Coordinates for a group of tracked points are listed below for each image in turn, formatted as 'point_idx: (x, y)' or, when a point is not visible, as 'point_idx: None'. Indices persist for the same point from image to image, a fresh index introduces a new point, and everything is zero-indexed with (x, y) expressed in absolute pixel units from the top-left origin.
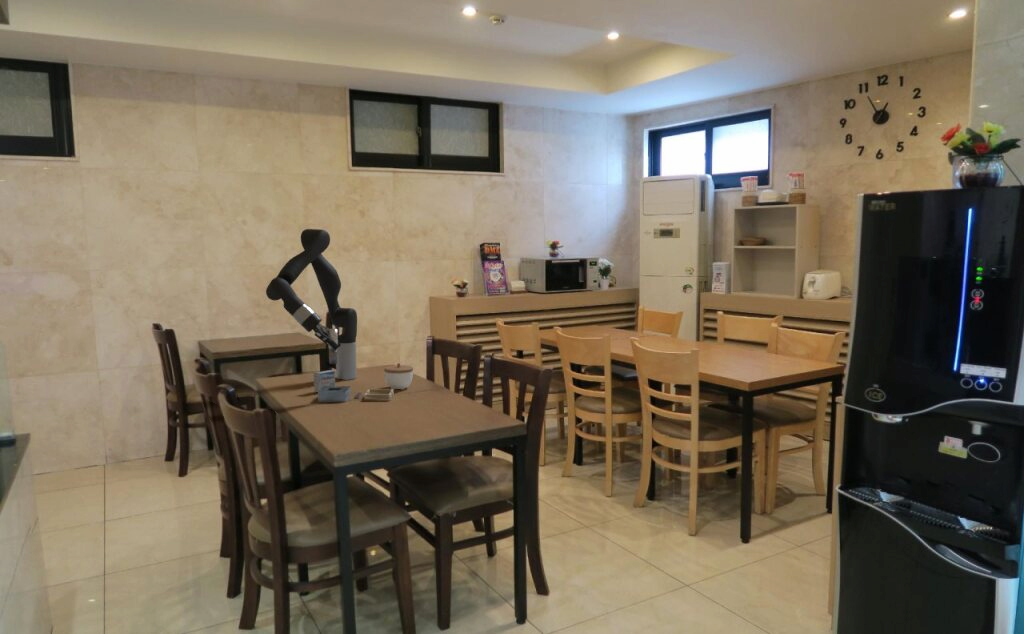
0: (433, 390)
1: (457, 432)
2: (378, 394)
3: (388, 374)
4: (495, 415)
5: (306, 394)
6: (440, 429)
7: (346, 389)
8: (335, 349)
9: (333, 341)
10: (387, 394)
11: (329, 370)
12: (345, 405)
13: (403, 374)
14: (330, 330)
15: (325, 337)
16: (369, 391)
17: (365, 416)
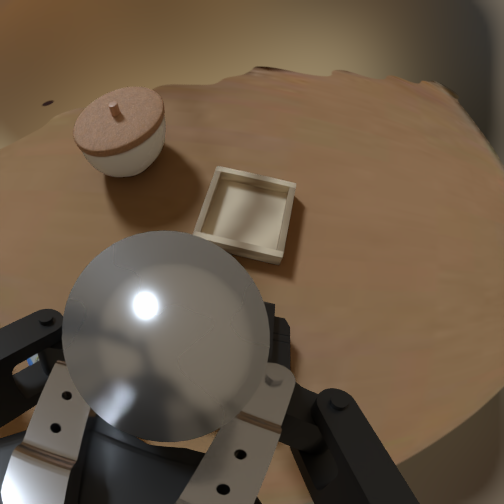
0: (199, 98)
1: (492, 157)
2: (286, 214)
3: (137, 151)
4: (412, 87)
5: None
6: (488, 170)
7: None
8: None
9: (270, 349)
10: (292, 190)
11: (34, 355)
12: (328, 327)
13: (164, 115)
14: (251, 394)
15: (372, 447)
16: (209, 236)
17: (442, 274)
